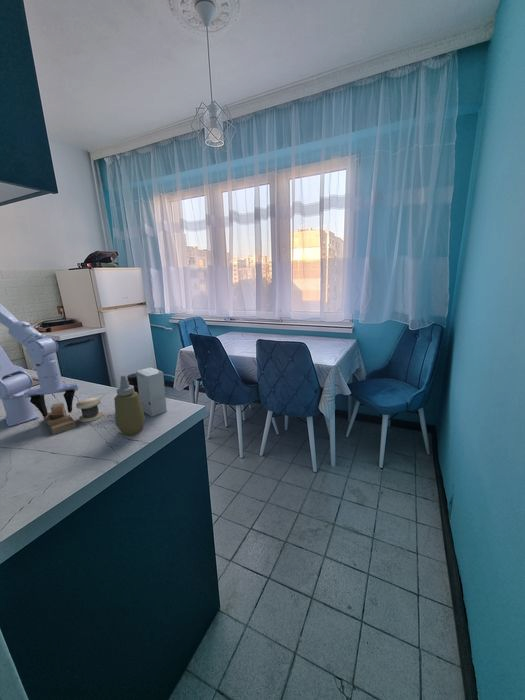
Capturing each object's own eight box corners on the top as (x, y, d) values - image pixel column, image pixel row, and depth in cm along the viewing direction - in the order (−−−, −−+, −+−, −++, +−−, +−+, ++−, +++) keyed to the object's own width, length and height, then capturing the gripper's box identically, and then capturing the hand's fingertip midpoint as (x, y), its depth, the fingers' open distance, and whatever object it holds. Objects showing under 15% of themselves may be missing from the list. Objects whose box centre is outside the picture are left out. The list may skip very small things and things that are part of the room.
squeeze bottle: (113, 432, 88) (103, 376, 84) (139, 422, 94) (131, 369, 89) (124, 441, 83) (114, 383, 78) (151, 430, 89) (143, 375, 84)
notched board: (44, 419, 98) (42, 414, 97) (64, 413, 102) (63, 408, 101) (53, 434, 88) (52, 428, 88) (76, 426, 92) (74, 421, 92)
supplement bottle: (141, 411, 102) (136, 379, 98) (124, 409, 103) (119, 378, 100) (152, 402, 108) (148, 372, 105) (136, 401, 109) (131, 371, 106)
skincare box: (140, 410, 102) (134, 370, 98) (156, 404, 106) (150, 366, 103) (152, 417, 97) (146, 375, 93) (168, 410, 101) (163, 370, 97)
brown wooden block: (54, 423, 95) (50, 408, 94) (56, 419, 98) (52, 404, 96) (65, 421, 96) (61, 406, 95) (66, 417, 99) (63, 402, 98)
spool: (76, 417, 99) (73, 402, 97) (99, 410, 103) (96, 396, 102) (83, 424, 94) (79, 408, 92) (106, 416, 99) (103, 401, 97)
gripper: (77, 368, 99) (85, 404, 102) (26, 374, 94) (36, 412, 97) (72, 374, 92) (81, 412, 96) (17, 381, 87) (28, 422, 91)
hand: (58, 413), depth 96 cm, fingers open, 6 cm apart
